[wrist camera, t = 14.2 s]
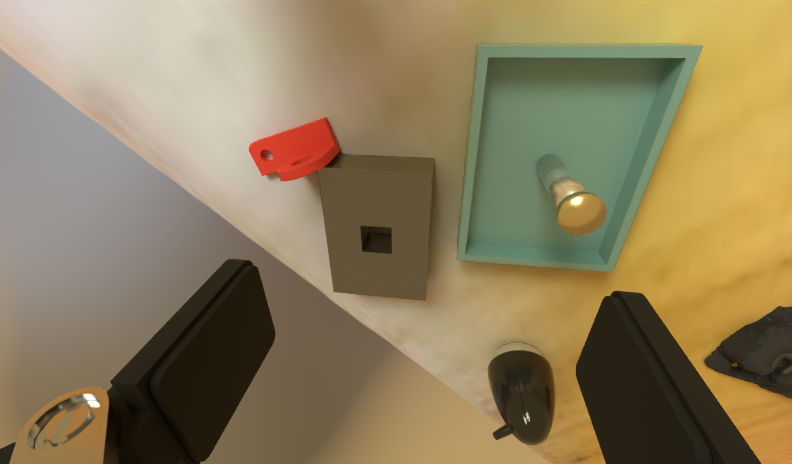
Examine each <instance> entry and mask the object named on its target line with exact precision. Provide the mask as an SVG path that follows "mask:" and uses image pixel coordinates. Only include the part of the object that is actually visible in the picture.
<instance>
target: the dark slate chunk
mask: <svg viewBox="0 0 792 464" xmlns="http://www.w3.org/2000/svg"><path fill="white" fill-rule="evenodd" d="M712 354H713V355H712V356H710V357H708V359H706V360H705V363H706V365H707V366H708V367H709V368H712V369H714V370H715V371H717V372H720V373H723V374H726V375H729V376H731V377H735V378H738V379H741V380H745V381H749V382H753V383H755V384H758V385H759V386H760V387H761V388H765V389H767V390H769V391H772V392H774V393H778V394H781V395H784V396H786V397H789V398H792V307H790V308H789V307H787V308H786V307H781V306H778V307H777V308H776V309H774V310H773V311H772V312H770V313H769V314H767V315H766V316H764V317H763V318H761V319H760V320H758V321H757V322H754V323H752V324H748V325H746V326H744V327H743V328H741V329H740V330H738V331H736V332H735V333H734V334H732V335H731V336H730V337H728V338H727V339H725V340H724V341H722V342H721V345H720V346H719V347H717V349H716V350H715V351H714V352H712ZM735 362H737V364H738V366H739V367H733V366H731V365H732V364H733V363H735Z"/></svg>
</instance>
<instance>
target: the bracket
mask: <svg viewBox="0 0 792 464" xmlns="http://www.w3.org/2000/svg"><path fill="white" fill-rule="evenodd" d="M264 149H266V150H269V151H270V152H271V153H272V155H273V160H269V159H267V158H266V157H265V155H264ZM249 152H250V154H251V156H252V158H253V159H254V161H255V163H256V165H257V167H258V169H259V170H260V172H261V174H262V176H263V175H267V174H270V173H273V172H277V174H278V176H279V178H280V179H281V181H290V180H295V179H298V178H301V177H304V176H306V175H309V174H311V173H313V172H315V171H317V170H319V169H321V168H323V167H324V166H326V165H327V164H328V163H329V162H330V161H331V160H332V159H333V158H334V157H335V156H336V155H337V154H338V153H339V152H340V149H339V146H338V144H337V142H336V139H335V137H334V134H333V132H332V129H331V127H330V125H329V122H328V120H327V117H326V118H323V119H320V120H317V121H314V122H311V123H308V124H305V125H302V126H299V127H296V128H293V129H290V130H287V131H284V132H281V133H278V134H275V135H272V136H269V137H266V138H264V139H261V140H258V141H255V142H253V143H252V144H251V145H250V146H249Z"/></svg>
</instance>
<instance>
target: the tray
mask: <svg viewBox="0 0 792 464" xmlns="http://www.w3.org/2000/svg"><path fill="white" fill-rule="evenodd" d="M702 47H703V46H700V45H689V44H477V49H476V59H475V69H474V79H473V89H472V99H471V109H470V119H469V129H468V138H467V148H466V158H465V168H464V178H463V188H462V198H461V208H460V218H459V228H458V238H457V260H461V261H474V262H486V263H499V264H512V265H525V266H537V267H550V268H563V269H576V270H588V271H601V272H613V269H614V267H615V264H616V262H617V259H618V257H619V254H620V252H621V249H622V247H623V244H624V242H625V239H626V237H627V234H628V232H629V229H630V227H631V224H632V222H633V219H634V217H635V214H636V212H637V209H638V207H639V204H640V202H641V199H642V197H643V194H644V192H645V189H646V187H647V184H648V182H649V179H650V177H651V174H652V172H653V169H654V167H655V164H656V162H657V159H658V157H659V154H660V152H661V149H662V147H663V144H664V142H665V139H666V137H667V134H668V132H669V130H670V127H671V125H672V122H673V120H674V117H675V115H676V112H677V110H678V107H679V105H680V102H681V100H682V97H683V95H684V92H685V90H686V87H687V85H688V82H689V80H690V77H691V75H692V72H693V70H694V67H695V65H696V62H697V60H698V57H699V55H700V52H701V50H702ZM546 154H555V155H558V156H559V157H560V158H561V160H562V161H563V162H564V163H565V165H566V166H567V167H568V168H569V170H570V171H571V172H572V174H573V175H574V176H575V177H576V179H577V180H578V181H579V183H580V184H581V185H582V186H583V188H584V189H585V190H586V191H587V192H591V193H594V194H595V195H597V196H598V197H599V198H600V199H601V200H602V202H603V203H604V204H605V206H606V209H607V216H606V219H605V221H604V223H603V224H602V225H601V226H600V227H599V228H598V229H597V230H595V231H593V232H591V233H589V234H586V235H571V234H568V233H566V232H565V231H564V230H563V229H562V228H561V227H560V225H559V223H558V221H557V219H556V209H557V208H556V206H555V204H554V202H553V200H552V198H551V197H550V195H549V193H548V191H547V189H546V188H545V186H544V184H543V182H542V180H541V178H540V177H539V175H538V173H537V171H536V164H537V162H538V160H539V159H540V158H541V157H542V156H544V155H546Z"/></svg>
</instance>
